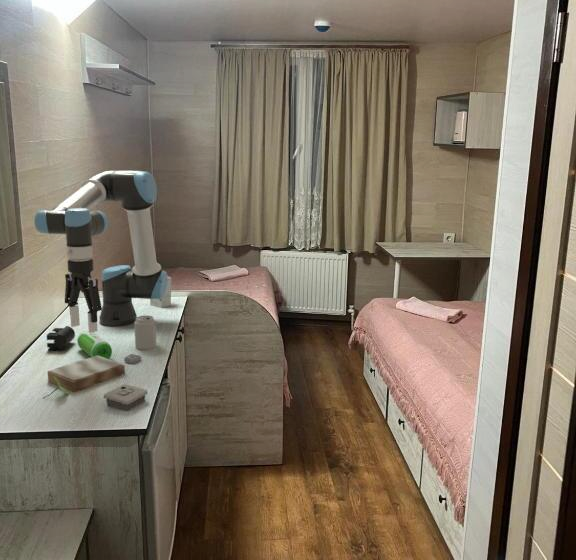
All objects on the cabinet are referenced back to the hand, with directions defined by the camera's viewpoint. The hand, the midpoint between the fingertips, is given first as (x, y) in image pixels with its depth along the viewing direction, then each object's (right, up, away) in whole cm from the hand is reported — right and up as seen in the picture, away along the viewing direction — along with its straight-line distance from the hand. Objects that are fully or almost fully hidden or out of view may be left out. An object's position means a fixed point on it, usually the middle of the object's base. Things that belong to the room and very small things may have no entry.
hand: (84, 328), depth 197 cm
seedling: (-8, -20, -13) cm, 25 cm away
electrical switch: (+13, -21, -14) cm, 29 cm away
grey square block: (+11, -13, +18) cm, 25 cm away
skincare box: (+7, +3, +87) cm, 87 cm away
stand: (0, -16, +4) cm, 17 cm away
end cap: (-19, -10, +32) cm, 39 cm away
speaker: (-4, -12, +24) cm, 27 cm away
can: (+12, -10, +32) cm, 36 cm away
